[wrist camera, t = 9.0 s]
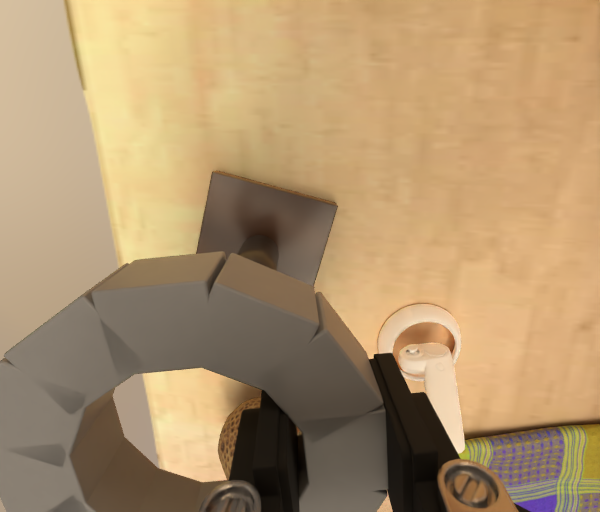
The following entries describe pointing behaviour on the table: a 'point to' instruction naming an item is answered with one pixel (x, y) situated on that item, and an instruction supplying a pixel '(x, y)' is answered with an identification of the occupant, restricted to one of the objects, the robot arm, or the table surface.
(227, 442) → the natural sponge
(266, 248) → the spindle
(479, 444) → the dish towel
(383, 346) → the white lever handle
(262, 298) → the grey ring
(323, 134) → the table surface
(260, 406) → the robot arm
